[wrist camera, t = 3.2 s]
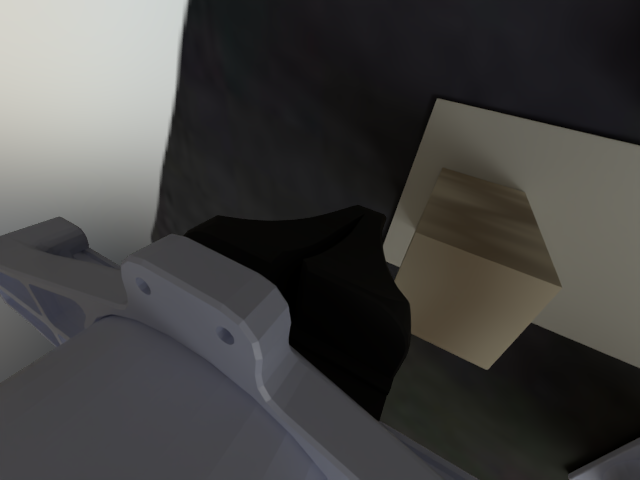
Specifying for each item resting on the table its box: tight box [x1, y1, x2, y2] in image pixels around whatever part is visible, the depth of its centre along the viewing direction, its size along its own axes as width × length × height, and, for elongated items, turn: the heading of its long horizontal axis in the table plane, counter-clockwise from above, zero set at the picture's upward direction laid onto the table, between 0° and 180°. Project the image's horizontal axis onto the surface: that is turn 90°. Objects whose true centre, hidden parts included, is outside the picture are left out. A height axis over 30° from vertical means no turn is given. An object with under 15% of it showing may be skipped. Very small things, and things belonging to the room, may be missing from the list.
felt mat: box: [383, 98, 640, 368], centre depth 14 cm, size 15×10×1 cm, turn 79°
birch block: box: [394, 167, 562, 370], centre depth 12 cm, size 4×4×8 cm
